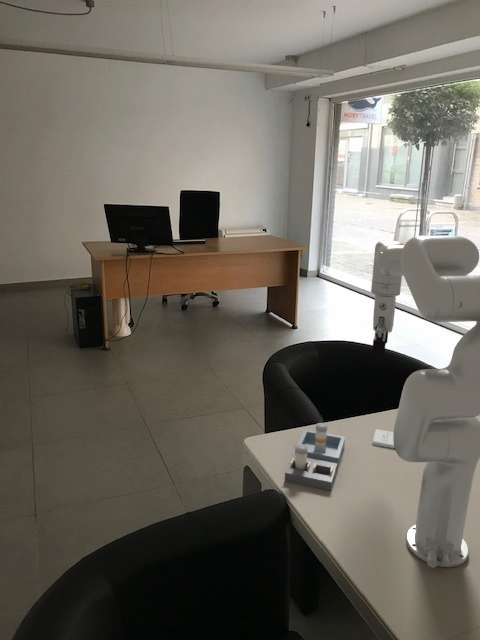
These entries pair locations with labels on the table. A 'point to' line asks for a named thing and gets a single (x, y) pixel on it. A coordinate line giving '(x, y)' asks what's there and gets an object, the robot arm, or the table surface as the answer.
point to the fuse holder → (312, 473)
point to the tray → (332, 447)
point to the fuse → (300, 457)
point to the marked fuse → (320, 438)
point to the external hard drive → (383, 438)
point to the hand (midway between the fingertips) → (379, 348)
